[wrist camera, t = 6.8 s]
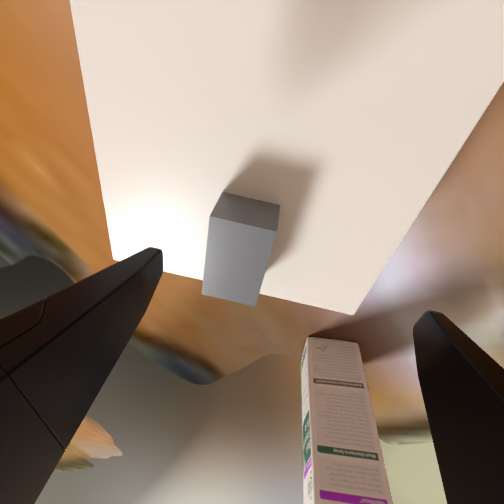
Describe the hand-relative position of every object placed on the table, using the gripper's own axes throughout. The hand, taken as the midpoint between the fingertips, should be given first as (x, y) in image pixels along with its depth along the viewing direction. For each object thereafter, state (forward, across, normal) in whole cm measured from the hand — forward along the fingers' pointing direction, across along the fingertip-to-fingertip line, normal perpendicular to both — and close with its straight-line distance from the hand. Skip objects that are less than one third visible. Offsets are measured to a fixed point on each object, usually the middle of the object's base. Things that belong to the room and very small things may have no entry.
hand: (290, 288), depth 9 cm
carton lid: (+7, +2, -2) cm, 7 cm away
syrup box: (+13, -9, +21) cm, 26 cm away
